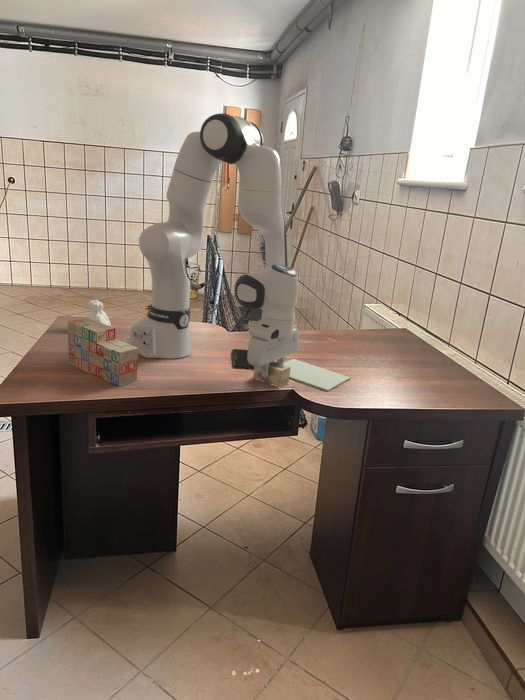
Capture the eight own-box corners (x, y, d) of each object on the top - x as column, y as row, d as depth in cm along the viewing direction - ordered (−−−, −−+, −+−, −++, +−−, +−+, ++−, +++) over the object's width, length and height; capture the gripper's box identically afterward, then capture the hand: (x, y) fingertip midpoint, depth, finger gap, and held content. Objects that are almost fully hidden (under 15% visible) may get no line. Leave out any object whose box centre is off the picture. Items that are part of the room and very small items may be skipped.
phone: (256, 350, 166) (260, 367, 152) (255, 354, 166) (259, 370, 152) (231, 348, 165) (233, 365, 151) (231, 352, 165) (233, 368, 151)
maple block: (253, 378, 145) (254, 361, 143) (262, 374, 148) (264, 357, 147) (279, 387, 140) (281, 370, 139) (288, 383, 144) (290, 366, 142)
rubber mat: (268, 370, 152) (268, 369, 152) (293, 360, 163) (293, 358, 163) (327, 391, 141) (328, 389, 141) (350, 378, 152) (350, 377, 152)
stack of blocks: (137, 381, 135) (139, 336, 131) (118, 387, 130) (119, 341, 126) (87, 358, 146) (87, 316, 142) (67, 363, 141) (67, 320, 137)
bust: (99, 330, 177) (78, 304, 173) (117, 318, 178) (97, 292, 173) (98, 341, 166) (75, 314, 162) (117, 328, 167) (95, 301, 162)
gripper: (288, 317, 149) (282, 362, 154) (245, 329, 133) (240, 379, 137) (306, 322, 146) (300, 368, 150) (265, 336, 130) (259, 386, 134)
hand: (271, 373), depth 144 cm, fingers closed on maple block, 4 cm apart
